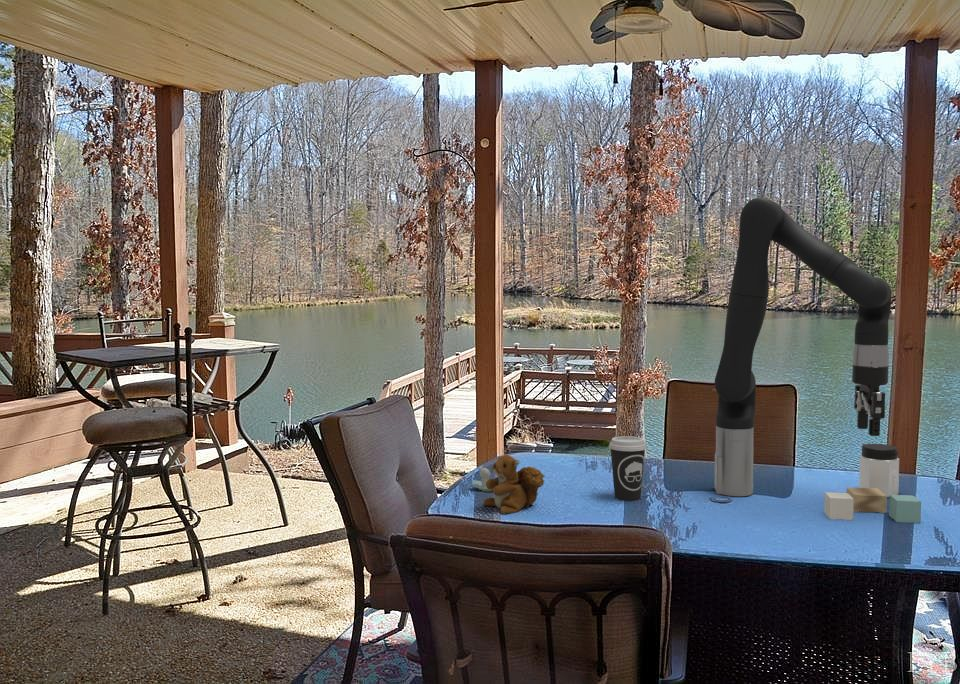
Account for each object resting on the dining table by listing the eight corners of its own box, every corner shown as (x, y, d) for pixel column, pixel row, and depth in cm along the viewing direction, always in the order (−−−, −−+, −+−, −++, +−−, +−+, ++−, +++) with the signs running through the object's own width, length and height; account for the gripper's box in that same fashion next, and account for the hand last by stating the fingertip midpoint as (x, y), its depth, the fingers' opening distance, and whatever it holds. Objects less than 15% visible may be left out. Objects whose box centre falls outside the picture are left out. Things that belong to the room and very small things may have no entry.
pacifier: (479, 486, 210) (469, 491, 205) (479, 463, 210) (469, 467, 204) (504, 489, 207) (494, 493, 201) (504, 466, 207) (494, 470, 201)
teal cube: (896, 522, 173) (896, 500, 173) (889, 515, 178) (889, 494, 178) (920, 523, 172) (921, 501, 172) (912, 516, 177) (913, 495, 177)
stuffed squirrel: (480, 505, 191) (479, 452, 190) (531, 499, 196) (531, 447, 195) (495, 516, 182) (494, 461, 181) (549, 509, 187) (549, 455, 186)
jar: (884, 499, 191) (885, 451, 190) (853, 492, 198) (854, 446, 197) (904, 493, 196) (905, 447, 195) (872, 487, 203) (873, 442, 202)
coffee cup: (650, 494, 198) (650, 437, 197) (641, 504, 190) (642, 444, 189) (614, 490, 202) (614, 434, 201) (604, 500, 194) (604, 441, 193)
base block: (854, 511, 181) (854, 494, 181) (846, 503, 188) (846, 487, 188) (886, 512, 180) (886, 496, 180) (877, 504, 187) (877, 488, 186)
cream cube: (829, 519, 176) (830, 498, 175) (824, 513, 181) (824, 492, 180) (853, 520, 175) (853, 498, 174) (847, 514, 180) (847, 493, 179)
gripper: (844, 360, 188) (842, 426, 189) (862, 366, 174) (860, 437, 175) (877, 361, 186) (875, 427, 188) (898, 367, 172) (896, 438, 174)
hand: (868, 432), depth 181 cm, fingers open, 8 cm apart
